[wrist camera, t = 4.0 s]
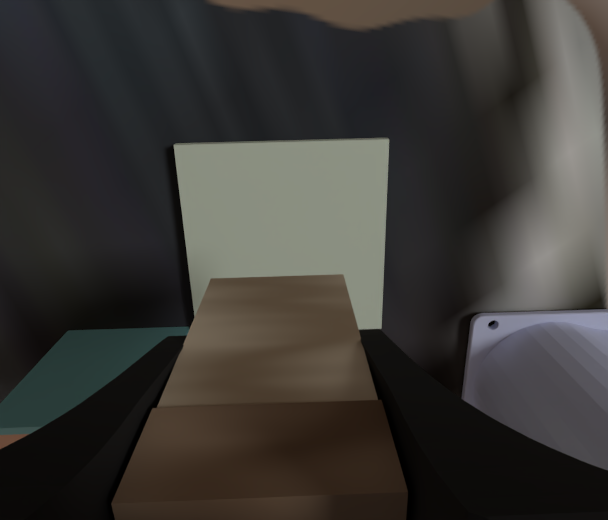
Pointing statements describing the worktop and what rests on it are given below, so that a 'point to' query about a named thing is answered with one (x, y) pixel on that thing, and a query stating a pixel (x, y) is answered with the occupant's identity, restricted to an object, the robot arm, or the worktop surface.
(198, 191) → the mat
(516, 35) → the worktop surface
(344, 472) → the brown wooden box
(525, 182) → the worktop surface
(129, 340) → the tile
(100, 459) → the robot arm
